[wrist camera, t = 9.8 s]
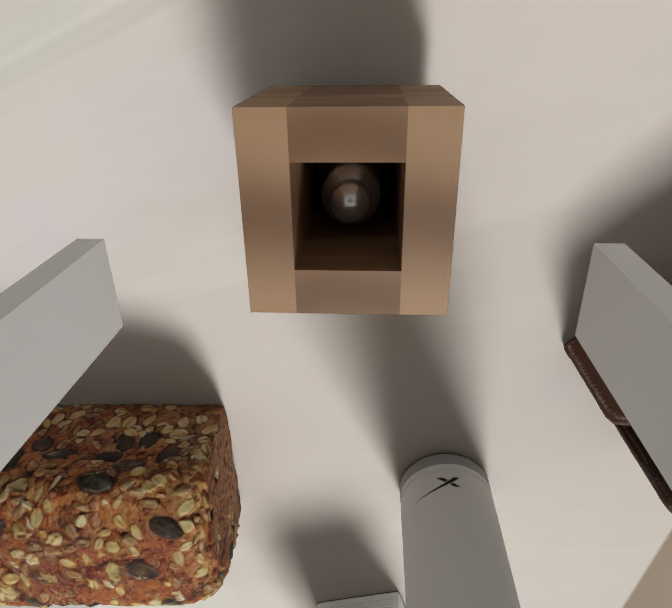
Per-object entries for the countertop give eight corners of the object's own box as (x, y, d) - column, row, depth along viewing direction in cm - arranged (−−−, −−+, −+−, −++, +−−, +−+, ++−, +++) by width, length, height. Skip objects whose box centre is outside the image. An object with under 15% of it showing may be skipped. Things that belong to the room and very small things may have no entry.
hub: (336, 59, 27) (324, 68, 21) (455, 148, 29) (478, 181, 23) (259, 183, 30) (228, 224, 24) (371, 258, 32) (370, 314, 26)
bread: (16, 504, 43) (-78, 627, 34) (-29, 392, 39) (-150, 501, 30) (250, 510, 42) (216, 640, 33) (233, 395, 37) (189, 509, 28)
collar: (270, 86, 26) (231, 107, 19) (439, 85, 26) (464, 105, 19) (280, 244, 30) (250, 312, 23) (429, 246, 29) (447, 315, 22)
